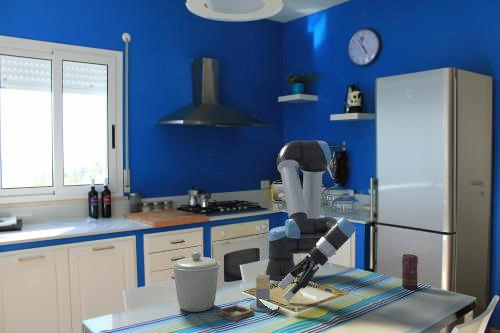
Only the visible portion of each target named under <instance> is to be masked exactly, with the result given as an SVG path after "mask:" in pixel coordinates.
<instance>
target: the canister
mask: <svg viewBox="0 0 500 333" xmlns="http://www.w3.org/2000/svg"><path fill="white" fill-rule="evenodd" d="M220 266H221V262H220V261H218V260H216V259H215V258H212V257H207V256H202V253H201V252H199V251H193V252H192V253H191V257H184V258H180V259H178V260H176V261H175V262H174V263H172V265H171V268H172V269H173V274H174V283H175V293H176V298H177V303H178V306H179V308H180V309H181V310H183V311H185V312H189V313H199V312H205V311H208V310H210V309H212V308H213V306H214V305H215V301H216V296H217V288H218V277H219V276H218V275H219V268H220Z"/></svg>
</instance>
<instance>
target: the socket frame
mask: <svg viewBox="0 0 500 333" xmlns="http://www.w3.org/2000/svg"><path fill="white" fill-rule="evenodd" d="M233 311H238V312H240V313H237V314H233V313H231V312H233ZM253 315H255V311H254V310H251V309H250V308H249V307H246V306H242V305H238V304H233V305H230V306H228V307H223V308H221V309H218V310H216V316H219V317H221V318H224V319H226V320H230V321H232V322H236V321H239V320H243V319H245V318H248V317H251V316H253Z"/></svg>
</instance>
